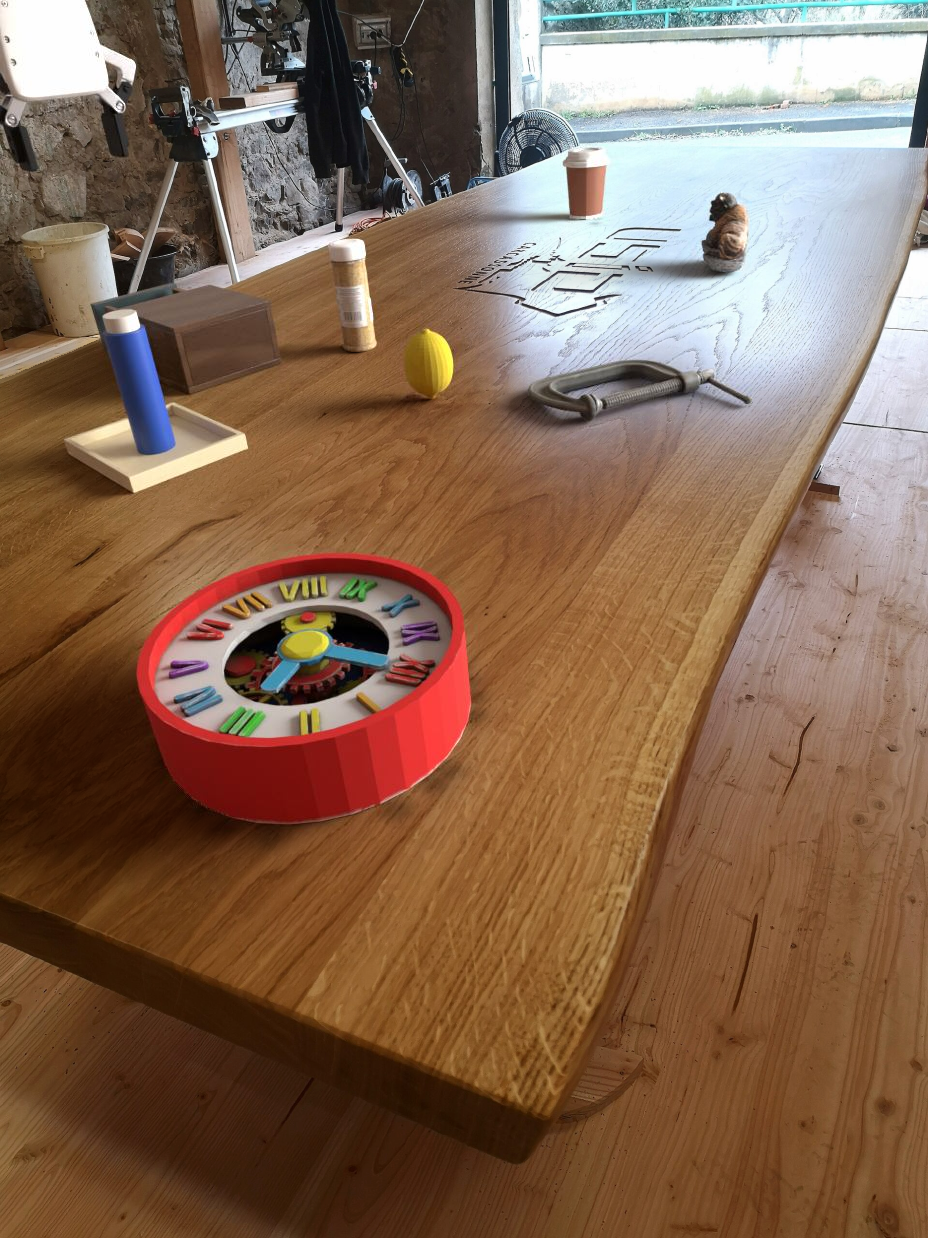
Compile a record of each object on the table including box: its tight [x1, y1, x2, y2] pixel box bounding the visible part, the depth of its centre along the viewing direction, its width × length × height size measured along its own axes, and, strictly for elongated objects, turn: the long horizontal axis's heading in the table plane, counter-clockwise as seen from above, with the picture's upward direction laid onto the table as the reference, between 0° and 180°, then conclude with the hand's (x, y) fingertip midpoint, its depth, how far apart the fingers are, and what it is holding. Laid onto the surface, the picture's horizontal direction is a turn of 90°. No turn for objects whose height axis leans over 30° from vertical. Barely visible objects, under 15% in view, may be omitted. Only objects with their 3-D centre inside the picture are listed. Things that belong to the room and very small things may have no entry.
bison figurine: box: [701, 191, 749, 273], centre depth 139 cm, size 12×7×10 cm, turn 175°
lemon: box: [403, 328, 454, 400], centre depth 101 cm, size 6×6×8 cm
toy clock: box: [135, 552, 472, 825], centre depth 57 cm, size 20×6×20 cm
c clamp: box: [527, 359, 753, 422], centre depth 98 cm, size 20×17×3 cm
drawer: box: [90, 282, 187, 352], centre depth 123 cm, size 18×12×6 cm
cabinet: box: [117, 284, 282, 395], centre depth 116 cm, size 15×14×8 cm
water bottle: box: [102, 309, 176, 455], centre depth 92 cm, size 4×4×14 cm
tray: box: [63, 401, 249, 494], centre depth 95 cm, size 15×13×2 cm
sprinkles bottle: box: [327, 238, 377, 353], centre depth 117 cm, size 5×5×14 cm
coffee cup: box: [562, 146, 611, 221], centre depth 177 cm, size 9×9×12 cm
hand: (76, 162), depth 93 cm, fingers open, 9 cm apart
